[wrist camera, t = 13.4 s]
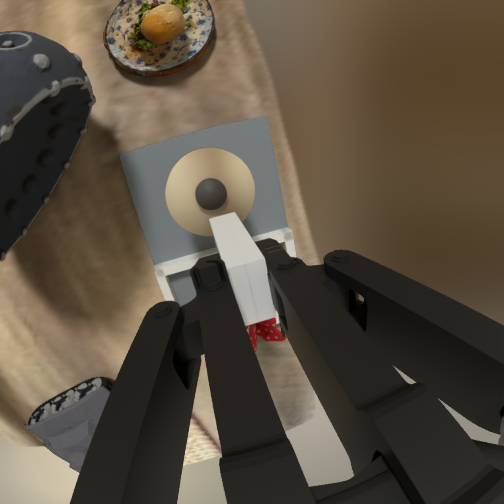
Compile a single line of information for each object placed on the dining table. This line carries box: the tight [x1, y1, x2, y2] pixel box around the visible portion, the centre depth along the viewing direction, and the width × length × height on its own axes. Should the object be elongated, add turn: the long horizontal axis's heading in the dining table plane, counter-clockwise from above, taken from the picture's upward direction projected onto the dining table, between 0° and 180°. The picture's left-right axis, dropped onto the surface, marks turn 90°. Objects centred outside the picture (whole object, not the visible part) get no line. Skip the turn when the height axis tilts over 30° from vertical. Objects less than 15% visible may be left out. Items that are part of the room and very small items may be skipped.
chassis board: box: [119, 116, 296, 333], centre depth 33 cm, size 16×26×4 cm, turn 12°
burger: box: [103, 0, 215, 76], centre depth 20 cm, size 12×12×8 cm
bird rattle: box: [246, 317, 286, 351], centre depth 32 cm, size 6×11×9 cm
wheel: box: [165, 147, 255, 236], centre depth 23 cm, size 7×7×3 cm
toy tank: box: [24, 377, 112, 473], centre depth 35 cm, size 18×25×15 cm
